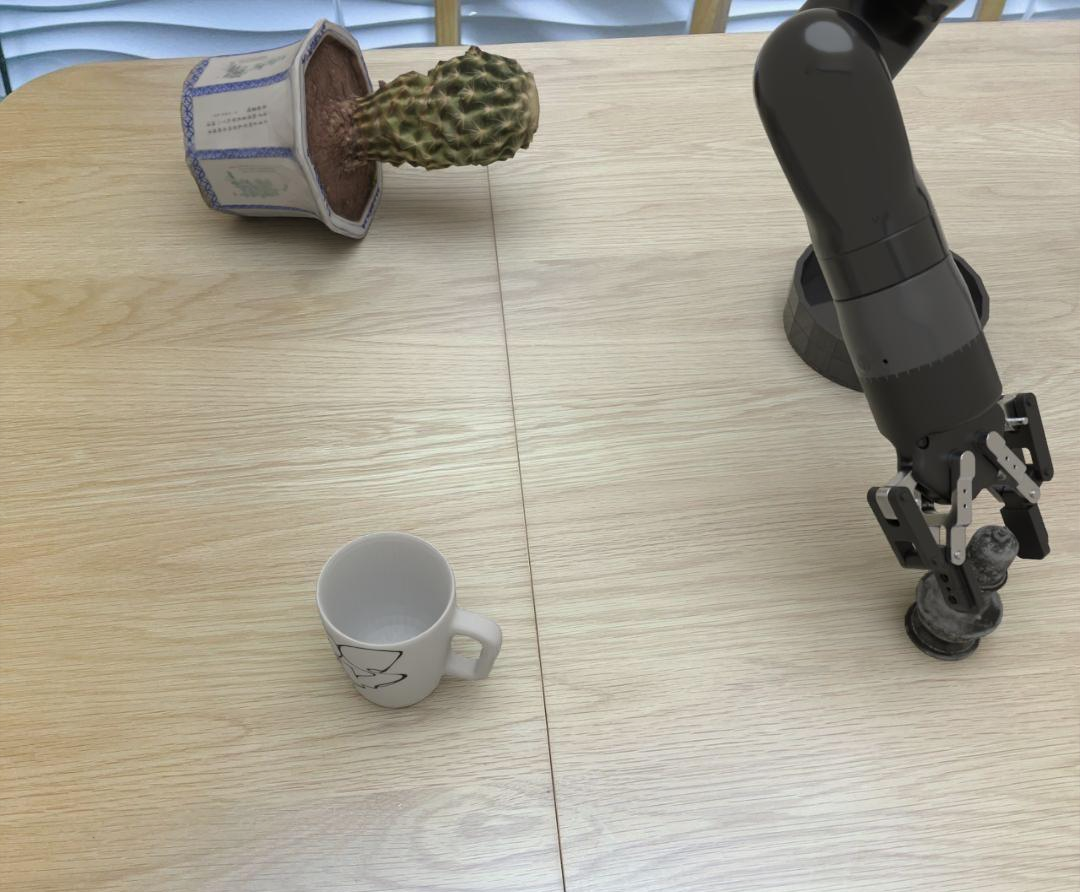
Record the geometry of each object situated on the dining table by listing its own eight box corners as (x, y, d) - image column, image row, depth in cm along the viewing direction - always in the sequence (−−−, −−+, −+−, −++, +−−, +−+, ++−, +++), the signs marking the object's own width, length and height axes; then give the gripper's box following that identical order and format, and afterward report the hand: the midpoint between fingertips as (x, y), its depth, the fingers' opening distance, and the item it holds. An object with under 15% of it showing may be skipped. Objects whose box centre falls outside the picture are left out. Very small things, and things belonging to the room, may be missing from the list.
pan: (865, 243, 102) (879, 203, 98) (1008, 340, 95) (1029, 301, 91) (744, 316, 96) (754, 276, 92) (888, 426, 88) (904, 387, 85)
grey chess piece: (896, 589, 79) (952, 485, 69) (978, 597, 79) (1045, 494, 69) (904, 660, 76) (965, 561, 66) (990, 668, 75) (1063, 570, 66)
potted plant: (130, 112, 86) (499, 57, 79) (200, 5, 97) (528, -51, 90) (224, 291, 99) (547, 258, 92) (276, 179, 110) (567, 141, 103)
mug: (516, 638, 76) (518, 555, 68) (485, 747, 71) (483, 672, 63) (358, 604, 77) (342, 518, 69) (316, 708, 72) (294, 630, 64)
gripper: (885, 393, 60) (983, 651, 64) (1041, 286, 65) (1121, 529, 70) (792, 403, 66) (886, 636, 71) (941, 305, 72) (1020, 526, 76)
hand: (1002, 582), depth 70 cm, fingers open, 6 cm apart
